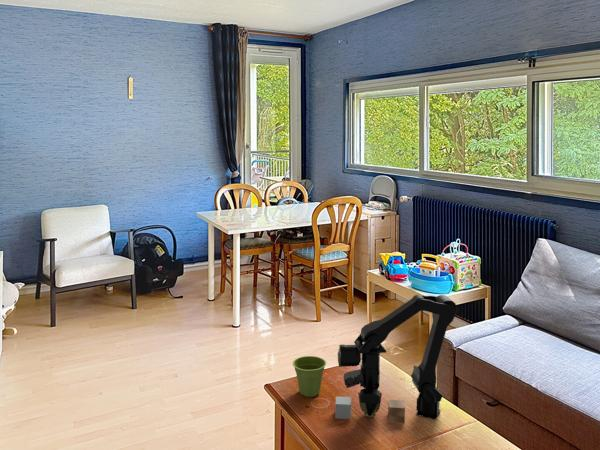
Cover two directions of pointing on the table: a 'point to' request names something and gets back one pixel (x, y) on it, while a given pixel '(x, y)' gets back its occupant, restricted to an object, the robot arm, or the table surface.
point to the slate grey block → (343, 407)
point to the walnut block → (396, 411)
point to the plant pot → (309, 374)
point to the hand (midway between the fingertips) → (369, 410)
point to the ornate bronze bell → (363, 408)
